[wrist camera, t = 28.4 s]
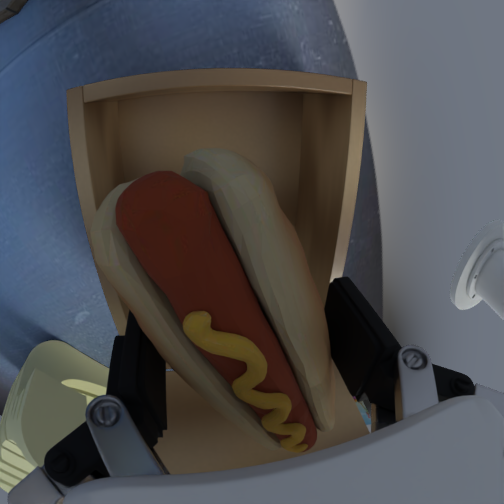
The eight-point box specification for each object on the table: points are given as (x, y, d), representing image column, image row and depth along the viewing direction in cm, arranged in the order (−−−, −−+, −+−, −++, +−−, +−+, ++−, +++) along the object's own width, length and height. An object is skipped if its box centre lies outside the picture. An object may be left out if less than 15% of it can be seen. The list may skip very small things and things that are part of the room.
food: (328, 367, 15) (363, 438, 11) (240, 401, 15) (258, 476, 11) (249, 109, 8) (318, 124, 4) (89, 184, 8) (13, 269, 4)
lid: (157, 632, 2) (177, 615, 5) (430, 568, 5) (393, 569, 7) (132, 372, 18) (149, 405, 21) (328, 347, 21) (316, 382, 24)
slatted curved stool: (71, 281, 23) (12, 462, 8) (193, 360, 31) (215, 513, 16) (7, 389, 29) (-14, 481, 13) (86, 431, 36) (82, 520, 21)
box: (108, 91, 16) (65, 89, 9) (309, 83, 19) (367, 81, 12) (142, 304, 26) (134, 371, 19) (294, 288, 28) (325, 346, 22)
